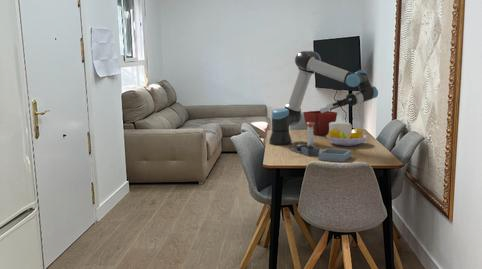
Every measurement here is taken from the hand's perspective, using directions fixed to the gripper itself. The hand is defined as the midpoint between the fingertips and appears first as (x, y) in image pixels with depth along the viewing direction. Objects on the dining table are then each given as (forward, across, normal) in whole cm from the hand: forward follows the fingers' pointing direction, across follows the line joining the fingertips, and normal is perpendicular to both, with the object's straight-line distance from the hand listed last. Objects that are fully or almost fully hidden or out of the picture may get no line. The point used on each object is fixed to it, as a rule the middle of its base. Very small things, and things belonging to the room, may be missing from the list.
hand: (324, 109), depth 296 cm
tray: (+11, -16, -30) cm, 36 cm away
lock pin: (+19, -2, -23) cm, 30 cm away
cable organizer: (-22, +47, -20) cm, 56 cm away
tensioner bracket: (+20, +4, -21) cm, 29 cm away
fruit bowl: (-15, +24, -26) cm, 38 cm away
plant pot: (-18, +71, -12) cm, 74 cm away
